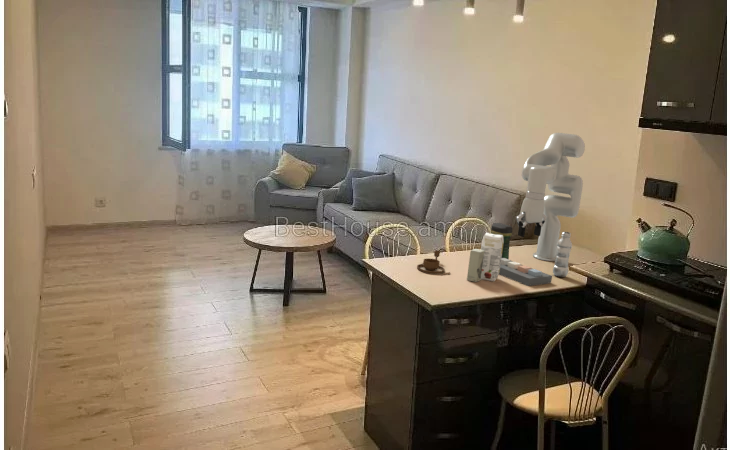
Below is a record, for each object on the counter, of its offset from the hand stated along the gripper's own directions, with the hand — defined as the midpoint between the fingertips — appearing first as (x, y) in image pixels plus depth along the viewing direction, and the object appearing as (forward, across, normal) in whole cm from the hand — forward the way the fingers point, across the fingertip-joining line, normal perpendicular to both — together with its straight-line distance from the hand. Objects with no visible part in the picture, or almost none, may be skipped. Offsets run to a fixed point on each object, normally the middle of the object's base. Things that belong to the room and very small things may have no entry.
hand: (529, 235), depth 272 cm
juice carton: (+19, +17, -4) cm, 26 cm away
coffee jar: (+19, -7, -23) cm, 31 cm away
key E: (+16, 0, +6) cm, 17 cm away
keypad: (+19, 0, -3) cm, 19 cm away
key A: (+16, 0, -6) cm, 17 cm away
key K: (+16, 0, -12) cm, 20 cm away
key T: (+16, 0, 0) cm, 16 cm away
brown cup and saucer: (+20, +30, -22) cm, 42 cm away
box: (+19, +25, -4) cm, 32 cm away
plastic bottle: (+19, -20, +3) cm, 28 cm away
